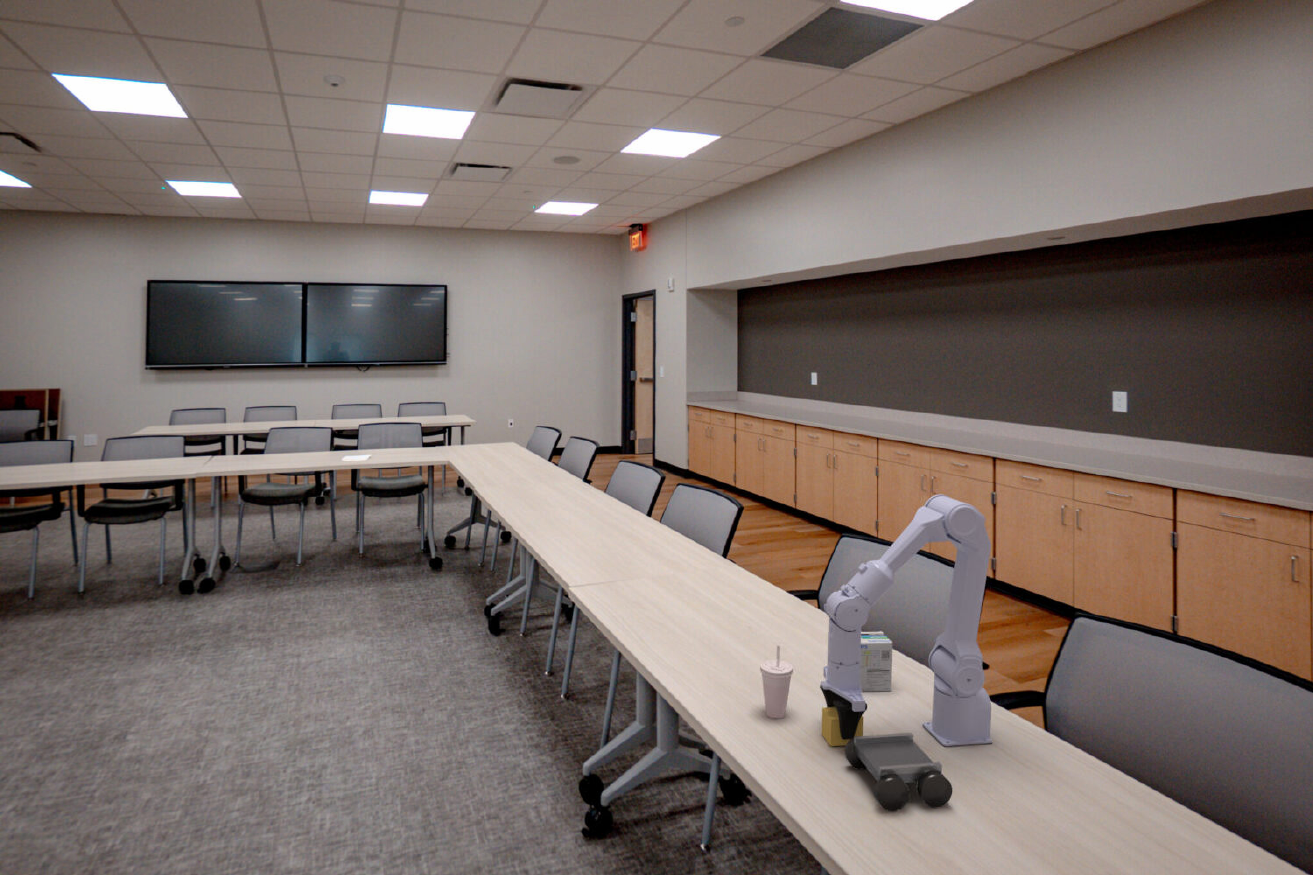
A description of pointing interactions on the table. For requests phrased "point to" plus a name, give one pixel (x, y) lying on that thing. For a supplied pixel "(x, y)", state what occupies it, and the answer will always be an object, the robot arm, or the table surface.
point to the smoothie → (776, 685)
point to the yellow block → (835, 727)
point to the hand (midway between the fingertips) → (842, 731)
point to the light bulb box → (875, 661)
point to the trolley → (898, 769)
